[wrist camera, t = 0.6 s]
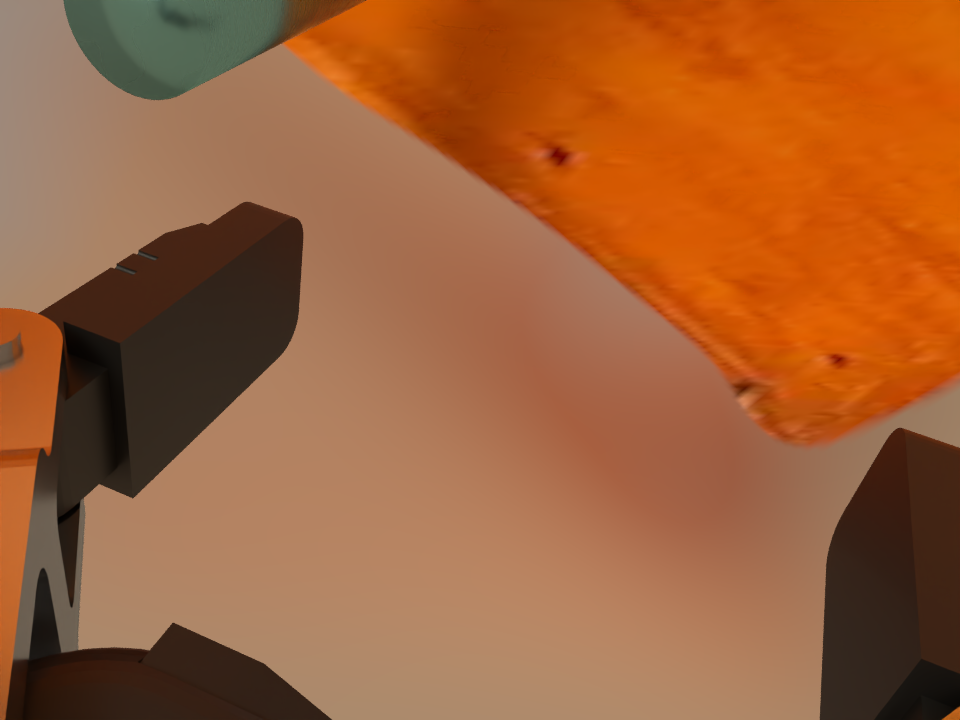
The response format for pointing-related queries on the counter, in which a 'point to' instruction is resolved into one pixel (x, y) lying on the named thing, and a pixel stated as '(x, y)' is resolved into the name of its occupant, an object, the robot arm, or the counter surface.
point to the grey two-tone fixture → (186, 37)
